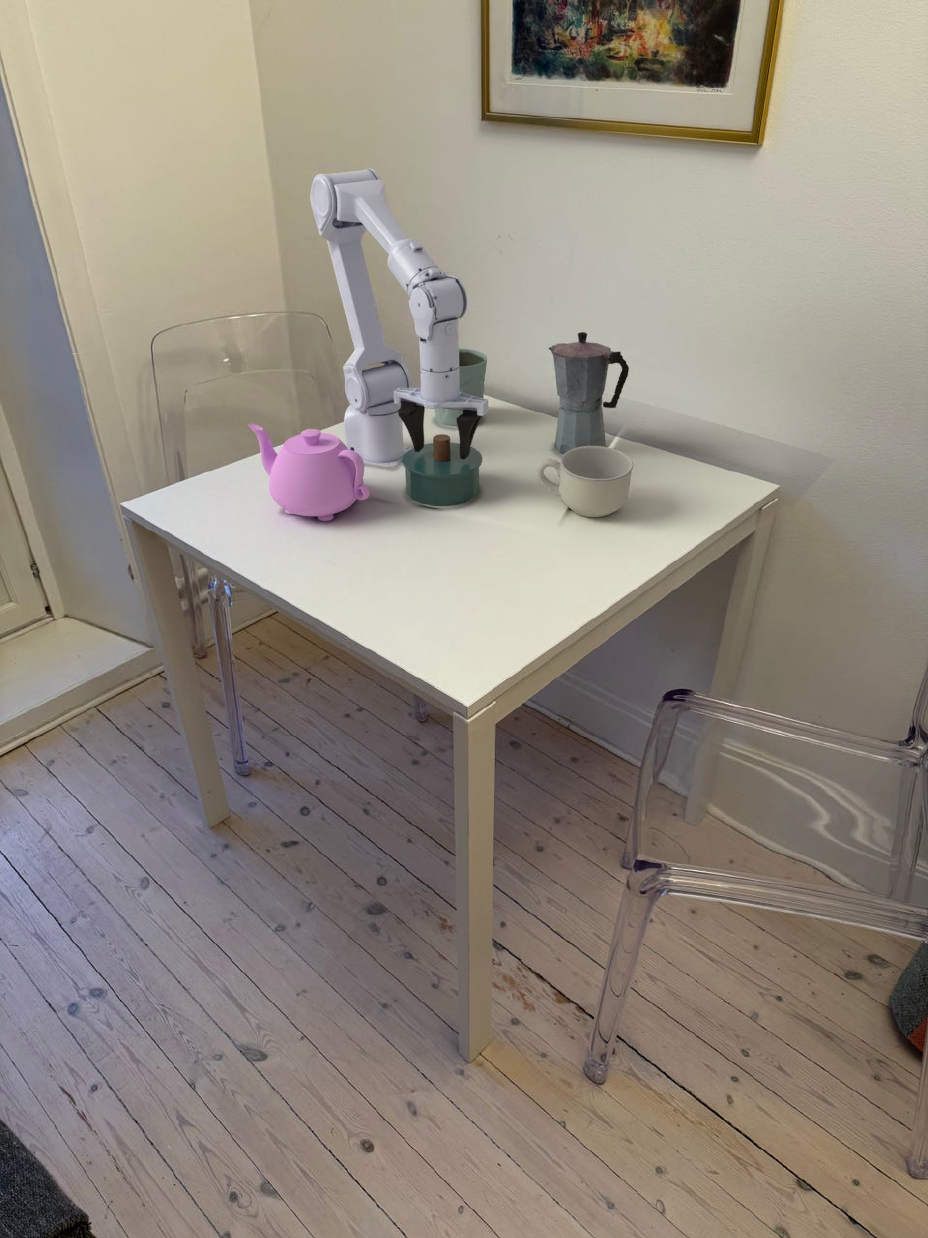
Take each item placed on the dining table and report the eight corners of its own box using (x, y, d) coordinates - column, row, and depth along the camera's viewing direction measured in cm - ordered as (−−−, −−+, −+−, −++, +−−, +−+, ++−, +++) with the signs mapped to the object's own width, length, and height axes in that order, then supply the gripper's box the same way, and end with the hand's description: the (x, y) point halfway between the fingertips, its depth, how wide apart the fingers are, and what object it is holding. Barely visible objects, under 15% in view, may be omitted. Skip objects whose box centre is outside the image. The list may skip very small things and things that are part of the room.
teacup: (634, 498, 138) (639, 450, 133) (621, 530, 129) (626, 479, 125) (547, 486, 142) (549, 439, 137) (529, 516, 133) (530, 467, 129)
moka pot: (557, 431, 160) (563, 319, 149) (634, 450, 153) (647, 334, 142) (529, 448, 154) (533, 333, 143) (608, 470, 146) (619, 349, 135)
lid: (389, 474, 135) (387, 446, 132) (422, 444, 144) (421, 417, 142) (464, 487, 131) (464, 459, 128) (493, 455, 140) (494, 428, 138)
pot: (394, 502, 138) (392, 470, 135) (424, 472, 146) (423, 442, 143) (462, 514, 134) (462, 481, 131) (489, 483, 143) (489, 452, 140)
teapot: (233, 513, 135) (220, 438, 128) (284, 476, 146) (275, 405, 139) (347, 537, 128) (340, 459, 122) (392, 496, 139) (388, 423, 132)
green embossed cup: (436, 409, 170) (434, 347, 163) (488, 411, 169) (489, 348, 162) (429, 430, 161) (427, 365, 155) (484, 431, 161) (484, 366, 154)
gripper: (382, 368, 128) (388, 456, 136) (475, 380, 123) (476, 470, 131) (403, 354, 133) (407, 439, 141) (493, 365, 129) (492, 452, 136)
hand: (441, 453), depth 136 cm, fingers open, 7 cm apart
